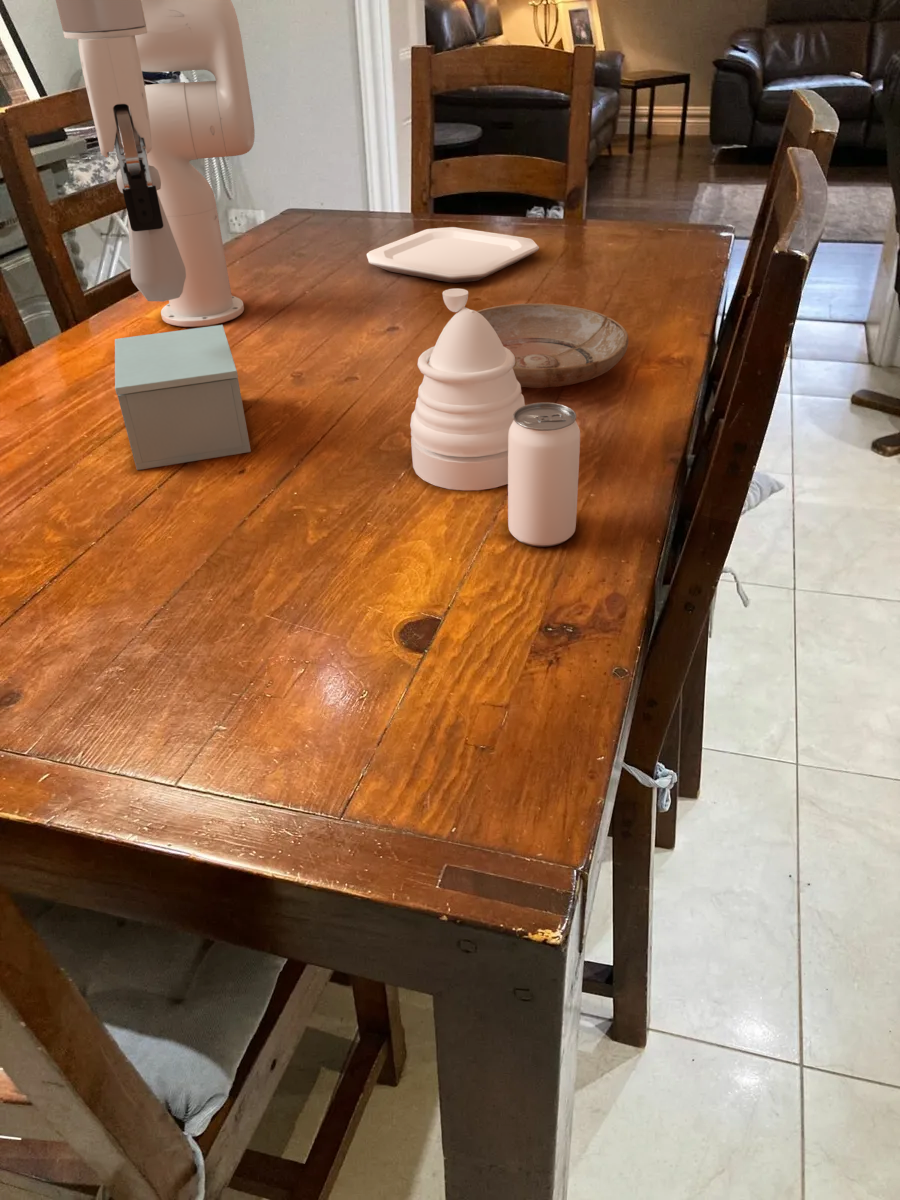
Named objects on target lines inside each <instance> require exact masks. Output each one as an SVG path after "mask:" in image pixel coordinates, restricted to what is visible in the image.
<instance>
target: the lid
mask: <svg viewBox="0 0 900 1200" xmlns="http://www.w3.org/2000/svg"><path fill="white" fill-rule="evenodd" d="M232 378H238V379H239V375H238V370H237V367H236V364H235V359H234V356H233V353H232V351H231V347H230V343H229V341H228V338H227V334H226V331H225V328H224V325H223V324H216V325H209V326H201V327H193V328H187V329H181V330H179V329H178V330H172V331H166V332H157V333H152V334H151V333H149V334H141V335H133V336H127V337H120V338H115V339H114V389H115V394H116V396H118V395H121V394H128V393H135V392H142V391H149V390H156V389H162V388H169V387H176V386H183V385H190V384H197V383H204V382H211V381H218V380H225V379H232Z"/></svg>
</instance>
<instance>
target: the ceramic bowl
mask: <svg viewBox="0 0 900 1200" xmlns="http://www.w3.org/2000/svg"><path fill="white" fill-rule="evenodd" d="M475 311H476V312H478V313H480V314H481V315H482V316H483V317H484V318H485V319H486V320H487V321H488V322H489V323H490V325H491V326H492V327H493V329H494V330H495V332H496V334H497V335H498V337H499V339H500V341H501V343H502V345H503V346H504V347H505V348H507V349H509V350H510V351H511V352H512V353H513V355H514V357H515V365H514V366H513V371H514V374H515V376H516V379H517V381H518V382H519V383H520V385H521V388H532V389H543V388H544V389H545V388H554V387H555V388H556V387H564V386H572V385H576V384H580V383H585V382H587V381H591V380H593V379H595V378H597V377H599V376H602V375H603V374H605V373H608V371H610V370H611V369H613V368H614V367H615V366H616V365H617V364H618V363H619V362H620V361H621V360H622V359H623V357H624V356H625V354H626V352H627V349H628V347H629V334H628V331H627V330H626V329H625V327H624V326H623V325H622V324H620V323H619V322H618V321H616V320H614V319H613V318H612V317H610V316H607V315H605V314H603V313H600V312H598V311H594V310H591V309H588V308H582V307H578V306H572V305H564V304H554V303H512V304H503V305H497V306H492V307H487V308H486V307H485V308H483V309H480V310H475Z"/></svg>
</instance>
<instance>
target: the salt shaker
mask: <svg viewBox="0 0 900 1200" xmlns="http://www.w3.org/2000/svg"><path fill="white" fill-rule="evenodd" d="M149 170H150V175H151V180H152V185H153V186H156V191H157V190H159V189H161V180H160V175H159V173H158V170H157V169H156V168H155V167H154V166H150V165H149ZM144 174H145V173H144ZM115 176H116V184H117V188H118V190H119V192H120V194H123V190H122V189H124V184H123V180H122V175H121V170H120V168H119V169H118V170H117V171H116V175H115ZM145 179H146V177H145ZM129 186H130V185H129ZM157 196H158V193H157ZM158 201H159V206H160V211H161V215H162V220H163V228H161V229H154V230H145V231H133V230H132V229H131V226H130V221H129V217H128V216H127V227H128V228H127V230H128V242H129V243H128V244H129V245H128V246H129V259H130V260H129V264H130V278H131V281H132V283H133V284H134V286H135V287H136V288H137V290H138V291H139V293H141V294H142V296H143V297H144V298H145V299H146V301H147V302H163V303H164V302H167V301H168V302H169V300H172V299H176V298H179V297H180V295H181V294H182V292H183V287H184V282H185V278H186V268H185V266H184V263H183V260H182V258H181V255H180V252H179V250H178V247H177V244H176V241H175V239H174V236H173V233H172V231H171V228H170V225H169V223H168V220H167V217H166V215H165V212H164V209H163V207H162V204H161V201H160V199H159V196H158ZM127 214H128V212H127Z"/></svg>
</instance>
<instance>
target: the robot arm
mask: <svg viewBox="0 0 900 1200" xmlns="http://www.w3.org/2000/svg"><path fill="white" fill-rule="evenodd" d="M55 3H56V7H57V12H58V15H59V20H60V24H61V28H62V34H63V37H64V39H67V40H76V41H77V48H78V54H79V60H80V65H81V70H82V75H83V79H84V85H85V89H86V93H87V97H88V101H89V105H90V111H91V114H92V120H93V123H94V128H95V133H96V137H97V140H98V145H99V151H100V154H101V155H102V156H103V157H105V158H110V153H113V152H114V150H115V152H116V158H117V161H118V166H119V169H120V170H121V175H122V180H123V184H124V189H122V190H123V193H122V194H123V199H124V203H125V207H126V211H127V212H128V213H127V218H128V217H129V221H130V226H131V229H132V230H133V231H145V230H154V229H161V228H163V220H162V215H161V211H160V206H159V201H158V196H159V199H160V201H161V204H162V207H163V209H164V212H165V215H166V217H167V220H168V223H169V225H170V228H171V231H172V233H173V236H174V239H175V241H176V244H177V247H178V250H179V252H180V255H181V258H182V260H183V263H184V266H185V268H186V278H185V282H184V287H183V292H182V294H181V295H180V297H179V298H176V299H172V300H168V303H166V305H164V306H163V307H162V309H161V310H160V315H161V319H162V321H163V322H164V323H166V324H168V325H171V326H174V327H181V328H202V327H210V326H216V325H220V324H223V323H226V322H229V321H232V320H234V319H237V318H238V317H240V316H241V315H242V314H243V312H244V310H245V305H244V301H243V300H242V299H241V298H240V297H238V296H234V295H233V294H232V288H231V283H230V277H229V272H228V271H229V270H228V266H227V261H226V260H227V259H226V254H225V249H224V248H225V247H224V244H223V237H222V231H221V225H220V219H219V213H218V208H217V207H218V206H217V203H216V202H217V201H216V196H215V193H214V190H213V188H212V186H211V185H210V183H209V181H208V180H207V178H205V176H203V174H202V173H201V172H200V171H199V170H198V169H196V167H195V166H194V165H193V164H192V163H191V161H194V160H195V161H196V160H199V159H212V158H227V157H237V156H242V155H245V154H247V153H249V152H250V151H251V150H252V149H253V146H254V144H255V132H256V131H255V122H254V113H253V106H252V105H253V104H252V101H251V93H250V87H249V79H248V73H247V67H246V61H245V53H244V47H243V46H244V45H243V41H242V33H241V29H240V24H239V19H238V15H237V12H236V9H235V5H234V4H233V2H232V0H55ZM203 70H204V71H207V72H210V73H211V74H212V75H213V77H214V80H204V81H189V82H187V81H179V82H163V83H153V84H146V85H145V81H144V76H143V72H147V73H167V72H169V73H170V72H186V71H187V72H188V71H203ZM149 165H150V166H154V167H155V168H156V169H157V170H158V173H159V175H160V180H161V189H159V190H157V191H156V186H153V185H152V180H151V175H150V170H149ZM144 173H145V174H144ZM145 177H146V179H145ZM129 185H130V186H129ZM157 193H158V196H157Z"/></svg>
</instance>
